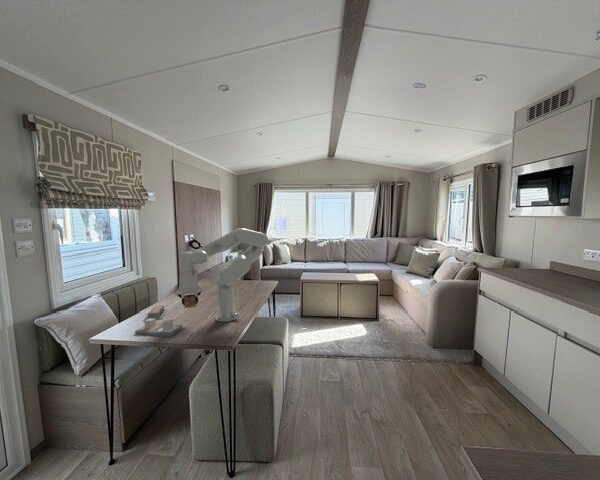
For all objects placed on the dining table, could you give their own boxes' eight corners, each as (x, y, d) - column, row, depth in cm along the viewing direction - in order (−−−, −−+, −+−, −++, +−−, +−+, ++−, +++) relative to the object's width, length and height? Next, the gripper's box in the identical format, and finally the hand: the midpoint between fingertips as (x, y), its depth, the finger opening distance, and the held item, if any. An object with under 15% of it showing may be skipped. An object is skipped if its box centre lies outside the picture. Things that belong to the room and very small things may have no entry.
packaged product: (161, 312, 178) (143, 313, 176) (162, 320, 178) (144, 321, 176) (167, 303, 195) (151, 305, 193) (168, 311, 196) (151, 312, 193)
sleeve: (196, 303, 173) (195, 293, 172) (195, 306, 167) (195, 296, 167) (185, 305, 171) (184, 295, 171) (184, 308, 165) (183, 297, 165)
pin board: (182, 328, 163) (182, 317, 162) (168, 336, 151) (167, 325, 151) (151, 325, 167) (150, 315, 167) (135, 334, 155) (134, 322, 155)
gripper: (203, 270, 174) (206, 300, 175) (172, 273, 169) (174, 304, 170) (203, 273, 167) (206, 304, 168) (170, 276, 161) (173, 308, 163)
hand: (190, 304), depth 169 cm, fingers closed on sleeve, 6 cm apart
